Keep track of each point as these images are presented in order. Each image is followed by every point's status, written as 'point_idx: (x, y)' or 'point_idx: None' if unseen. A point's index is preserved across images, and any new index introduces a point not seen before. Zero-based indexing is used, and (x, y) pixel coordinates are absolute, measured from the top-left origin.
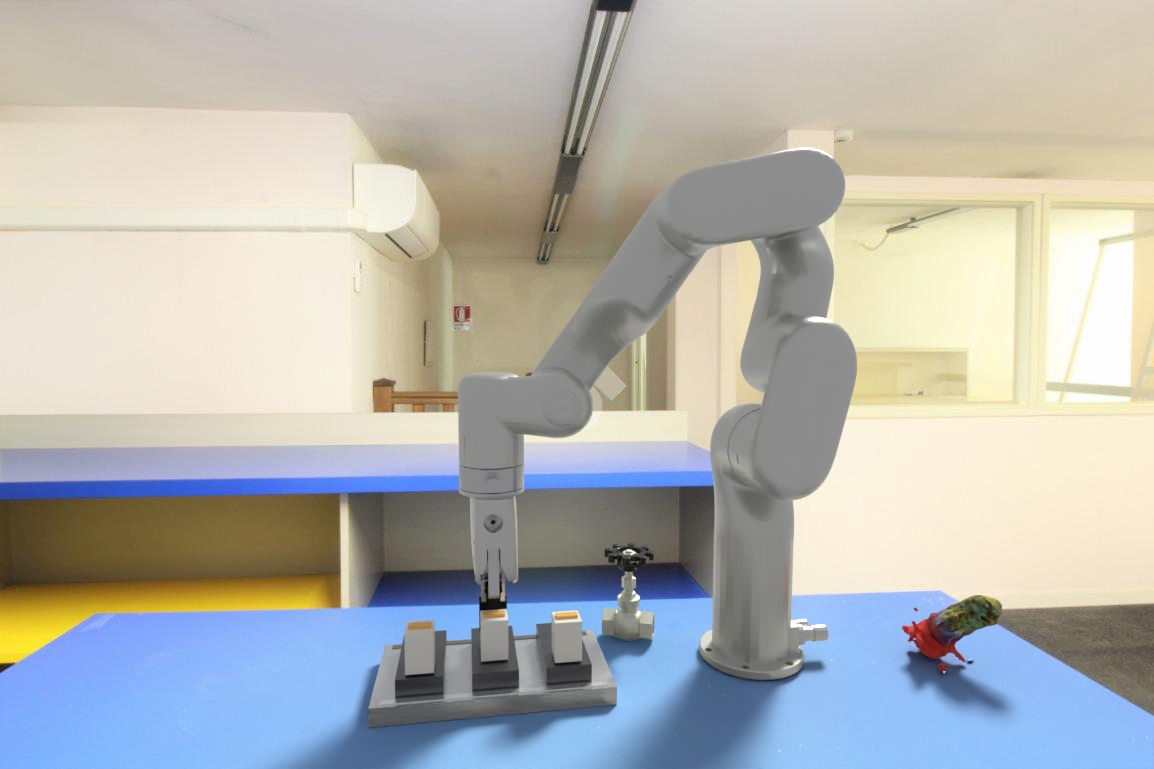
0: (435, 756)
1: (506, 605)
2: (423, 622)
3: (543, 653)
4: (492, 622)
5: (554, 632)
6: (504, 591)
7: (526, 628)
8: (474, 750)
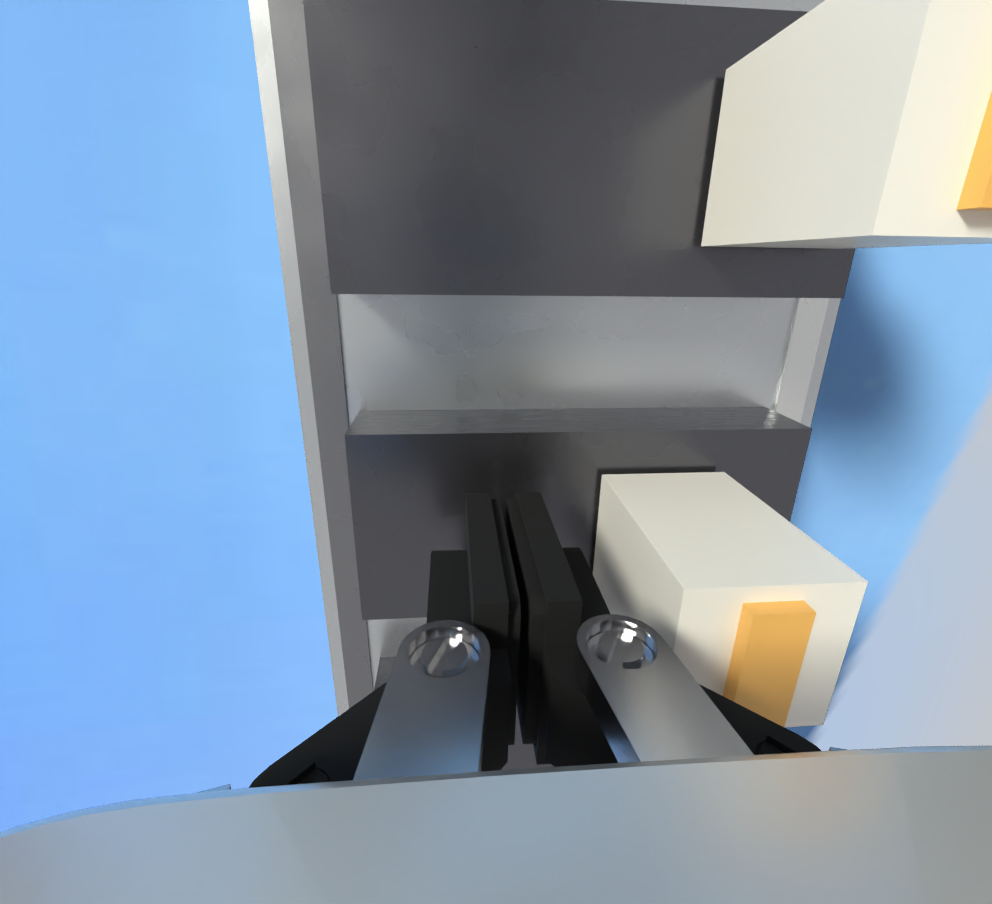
0: (869, 605)
1: (571, 577)
2: None
3: (701, 295)
4: (834, 662)
5: (962, 242)
6: (710, 700)
7: (71, 303)
8: (888, 520)
